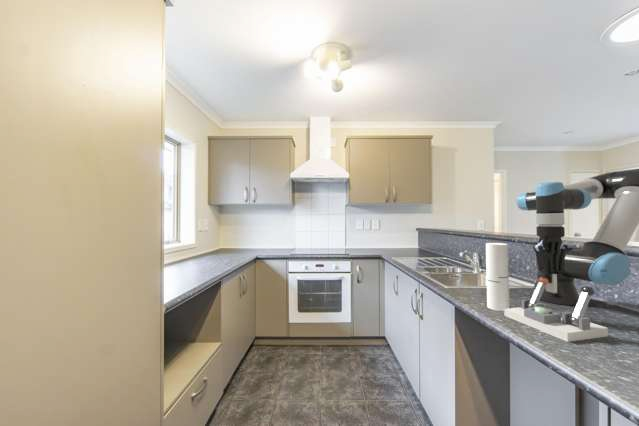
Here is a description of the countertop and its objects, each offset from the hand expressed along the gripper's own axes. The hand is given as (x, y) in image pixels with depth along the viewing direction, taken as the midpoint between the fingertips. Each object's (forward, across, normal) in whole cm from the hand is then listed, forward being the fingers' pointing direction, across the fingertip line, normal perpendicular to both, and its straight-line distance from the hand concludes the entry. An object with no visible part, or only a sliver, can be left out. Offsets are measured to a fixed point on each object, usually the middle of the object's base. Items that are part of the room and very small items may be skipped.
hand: (551, 291), depth 92 cm
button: (+6, +13, +6) cm, 15 cm away
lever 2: (+6, +9, +13) cm, 17 cm away
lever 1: (+6, +9, 0) cm, 11 cm away
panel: (+9, +8, +6) cm, 13 cm away
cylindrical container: (+9, +11, -11) cm, 18 cm away
